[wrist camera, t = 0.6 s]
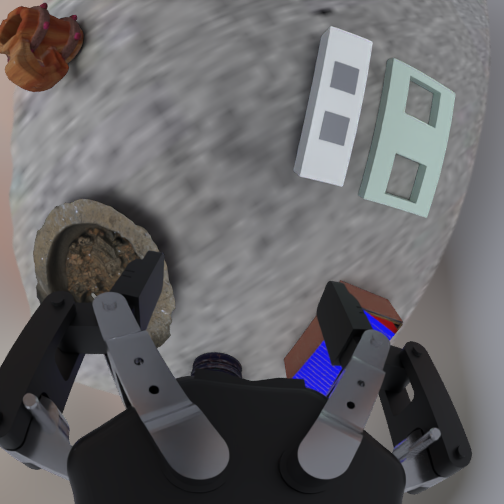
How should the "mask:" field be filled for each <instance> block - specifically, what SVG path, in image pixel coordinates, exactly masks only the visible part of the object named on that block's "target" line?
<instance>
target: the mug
mask: <svg viewBox="0 0 504 504" xmlns="http://www.w3.org/2000/svg"><path fill="white" fill-rule="evenodd" d="M47 7H48V6H47V3H43V4H41V5H40V6H34V7H31V8H27V7H23V6H21V7H18V8H16V9H15V10H13V11H12V12H10V13H9V14H8V17H7V19H5V20H3V21H2V23H1V25H0V53H1V54H6V55H7V57H8V64H7V65H6V67H5V73H6V75H7V76H8V79H9V80H11V81H12V82H13V83H14V84H16V85H18V86H19V87H21V88H23V89H25V90H28V91H32V92H41V91H45V90H48V89H50V88H52V87H53V86H54V85H55V84H56V83H57V82H59V81H60V80H61V79H62V78H63V77H64V76H65V75H66V73H67V72H68V69H69V66H68V64H67V63H69V62H70V61H71V60H72V59H73V58H74V57H75V56H76V54H77V53H78V52H79V50H80V48H81V46H82V44H83V31H82V30H81V29H80V27H79V24H78V23H77V22H76V20H77V16H76V15H72V16H70V17H64V18H60V19H58V18H56V17H54V16H52V15H50V14H49V12H48V10H47Z"/></svg>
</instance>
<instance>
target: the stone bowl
mask: <svg viewBox="0 0 504 504" xmlns="http://www.w3.org/2000/svg"><path fill="white" fill-rule="evenodd" d="M149 250H150V251H156V252H159V250H158V248H157V246H156V244H155V243H154V242H153V241H152V239H151V236H150V235H149V234H148V232H147V231H146V229H144V228H143V227H140V226H138V225H135V224H134V223H133V221H131V220H129V219H128V218H127V217H126V216H124V215H123V214H121V213H119V212H117V211H116V210H115V209H114V208H113V207H111V206H106V205H104V204H102V203H99V202H97V201H93V200H90V199H79V200H77V201H76V200H75V201H74V203H73V202H71V203H70V204H69V203H64V204H63V205H60V206H56V207H55V208H54V209H53V210H52V211H51V212H50V214H49V215H48V217H47V218H46V220H45V223H44V225H43V226H42V228H41V229H40V230H38V231H37V235H36V239H35V245H34V251H33V257H34V263H35V273H36V278H37V280H38V284H37V286H36V289H37V298H38V299H39V301H40V304H41V303H42V302H43V300H44V299H45V298H46V297H47V296H48V295H49V294H51V293H53V292H56V291H66V292H68V293H70V294H71V295H72V296H73V298H74V302H75V303H92V302H93V300H94V298H93V297H92V295H91V293H94V294H95V295H96V296H98V295H100V294H102V293H105V292H110V290H111V289H112V287H113V286H114V284H115V283H116V281H117V280H118V278H119V277H120V276H121V274H122V272H123V271H124V270H125V268H126V267H127V265H128V264H129V263H130V262H132V261H133V260H135V259H143V258H144V256H145V255H146V253H147V252H148V251H149ZM173 309H175V300H174V296H173V289H172V286H171V284H170V282H169V278H168V271H167V264H166V262H165V260H164V279H163V288H162V292H161V295H160V297H159V299H158V302H157V304H156V307H155V309H154V311H153V314H152V316H151V319H150V321H149V324H148V326H147V329H146V331H147V332H148V334H149V335H150V337H151V339H152V341H153V343H154V344H155V346H156V348H158V347H160V346H161V345H162V344H163V343H164V342H165V341H166V340H167V339H168V338H169V337H170V336H171V335H170V331H169V330H170V324H171V323H172V319H171V313H172V311H173Z"/></svg>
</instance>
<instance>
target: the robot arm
mask: <svg viewBox="0 0 504 504" xmlns="http://www.w3.org/2000/svg"><path fill="white" fill-rule="evenodd" d="M163 279H164V253H162V252H156V251H150V250H149V251H148V252H147V253H146V255H145V256H144V258H143V259H135V260H133V261H132V262H130V263H129V264H128V265H127V267H126V268H125V270H124V271H123V272H122V274H121V276H120V277H119V278H118V280H117V281H116V283H115V284H114V286H113V287H112V289H111V290H110V292H105V293H102V294H100V295H98V296H97V297H95V299H94V300H93V302H92V303H75V302H74V298H73V296H72V295H71V294H70V293H68V292H66V291H56V292H53V293H51V294H49V295H48V296H47V297H46V298H45V299H44V300H43V302H42V303H41V304H40V306H39V307H38V309H37V310H36V311H35V313H34V314H33V316H32V317H31V319H30V320H29V322H28V323H27V325H26V326H25V328H24V329H23V331H22V332H21V334H20V335H19V337H18V339H17V340H16V342H15V343H14V345H13V346H12V348H11V350H10V351H9V353H8V355H7V357H6V358H5V360H4V362H3V364H2V365H1V367H0V447H1V448H2V449H4V450H5V451H6V452H7V453H9V454H10V455H11V456H13V457H14V458H15V459H16V460H18V461H20V462H22V463H23V464H25V465H26V466H28V467H29V468H31V469H35V470H38V469H44V470H46V471H48V472H51V473H53V474H55V475H57V476H60V477H62V478H65V479H67V480H69V481H70V484H71V487H72V491H73V494H74V501H75V504H402V498H403V494H404V492H408V493H409V494H418V493H420V492H422V491H424V490H426V489H428V488H430V487H432V486H433V485H435V484H437V483H439V482H441V481H443V480H444V479H446V478H448V477H449V476H451V475H453V474H454V473H456V472H458V471H459V470H461V469H462V468H464V467H465V466H467V465H468V464H469V462H470V460H471V456H472V452H471V448H470V445H469V442H468V439H467V437H466V434H465V432H464V429H463V427H462V424H461V422H460V419H459V417H458V414H457V412H456V410H455V408H454V405H453V403H452V401H451V399H450V396H449V394H448V392H447V390H446V388H445V386H444V384H443V382H442V380H441V378H440V376H439V373H438V372H437V370H436V368H435V366H434V364H433V362H432V360H431V358H430V356H429V354H428V352H427V351H426V349H425V348H424V347H423V346H422V345H420V344H419V343H416V342H412V341H410V342H407V343H406V344H405V346H404V347H403V349H401V348H398V347H394V346H391V345H390V341H389V339H388V338H387V337H386V336H385V335H384V334H383V333H381V332H379V331H377V330H373V328H372V326H371V324H370V322H369V320H368V318H367V316H366V314H364V311H363V309H362V308H361V305H360V303H359V301H358V300H357V299H356V298H355V297H354V296H353V295H352V294H350V293H349V291H348V290H347V288H346V286H345V284H344V283H341V282H334V281H329V282H328V283H327V285H326V287H325V290H324V292H323V295H322V297H321V299H320V302H319V304H318V307H317V319H318V322H319V325H320V328H321V332H322V335H323V338H324V341H325V345H326V348H327V351H328V355H329V358H330V361H331V365H332V366H341V367H342V369H341V371H340V372H339V374H338V375H337V377H336V379H335V380H334V382H333V384H332V385H331V387H330V389H329V390H328V392H327V394H326V395H323V394H321V393H320V392H318V391H316V390H313V389H311V388H308V387H306V386H305V381H304V379H292V378H274V379H266V380H259V381H249V380H246V379H243V378H239V377H236V376H233V375H230V374H227V373H224V372H219V371H212V370H205V369H199V368H195V374H194V376H185V377H180V378H176V379H175V377H174V376H173V374H172V373H171V371H170V369H169V368H168V366H167V365H166V363H165V361H164V360H163V358H162V356H161V355H160V353H159V351H158V350H157V348H156V346H155V344H154V343H153V341H152V339H151V337H150V335H149V334H148V332H147V331H146V329H147V326H148V324H149V321H150V319H151V316H152V314H153V311H154V309H155V307H156V304H157V302H158V299H159V297H160V295H161V292H162V288H163ZM85 354H104V357H105V360H106V362H107V365H108V367H109V370H110V372H111V375H112V377H113V380H114V382H115V385H116V387H117V389H118V392H119V395H120V397H121V399H122V402H123V404H124V406H125V409H126V410H125V411H123V412H122V413H120V414H118V415H117V416H115V417H114V418H112V419H111V420H109V421H108V422H106V423H104V424H103V425H101V426H100V427H98V428H97V429H95V430H93V431H92V432H90V433H88V434H87V435H85V436H83V437H82V438H80V439H79V440H78V441H77V442H76V443H75V444H74V445H73V446H71V445H70V442H69V431H70V430H69V425H68V422H67V421H66V419H65V418H64V416H63V415H62V413H63V410H64V407H65V405H66V402H67V399H68V396H69V393H70V391H71V388H72V385H73V383H74V380H75V378H76V375H77V373H78V370H79V368H80V365H81V363H82V361H83V358H84V356H85ZM409 383H411V385H412V388H413V390H414V399H413V400H412V402H411V401H410V399H409V396H408V393H407V391H406V388H405V387H406V386H407V385H408V384H409ZM378 394H379V397H380V400H381V403H382V407H383V410H384V413H385V417H386V420H387V424H388V428H389V431H390V435H391V438H392V442H393V446H394V449H393V452H392V453H391V452H390V451H389V450H387V449H386V448H385V447H383V446H382V445H381V444H380V443H379V442H378V441H377V440H375V439H374V438H373V437H372V436H371V435H369V434H368V433H367V432H366V431H365V430H364V427H365V425H366V423H367V420H368V418H369V416H370V413H371V411H372V408H373V406H374V403H375V401H376V398H377V396H378Z"/></svg>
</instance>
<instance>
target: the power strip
mask: <svg viewBox="0 0 504 504" xmlns="http://www.w3.org/2000/svg"><path fill="white" fill-rule="evenodd" d="M371 49H372V41H370V40H367V39H365V38H362V37H360V36H357V35H355V34H352V33H349V32H347V31H344V30H341V29H338V28H335V27H332V26H330V28H329V29H328V30H327V31H326V32H325V33H324V34H323V35H322V36H321V41H320V46H319V51H318V56H317V60H316V63H315V72H314V77H313V82H312V86H311V91H310V96H309V101H308V106H307V110H306V115H305V120H304V124H303V129H302V134H301V138H300V142H299V144H298V152H297V156H296V161H295V165H294V170H293V171H294V172H295V173H297V174H298V175H299V176H300V177H305V178H309V179H313V180H318V181H322V182H326V183H330V184H334V185H338V186H342V187H343V183H344V180H345V176H346V172H347V168H348V164H349V160H350V156H351V152H352V148H353V143H354V139H355V135H356V130H357V126H358V121H359V116H360V112H361V107H362V102H363V97H364V91H365V86H366V80H367V75H368V69H369V63H370V56H371Z"/></svg>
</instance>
